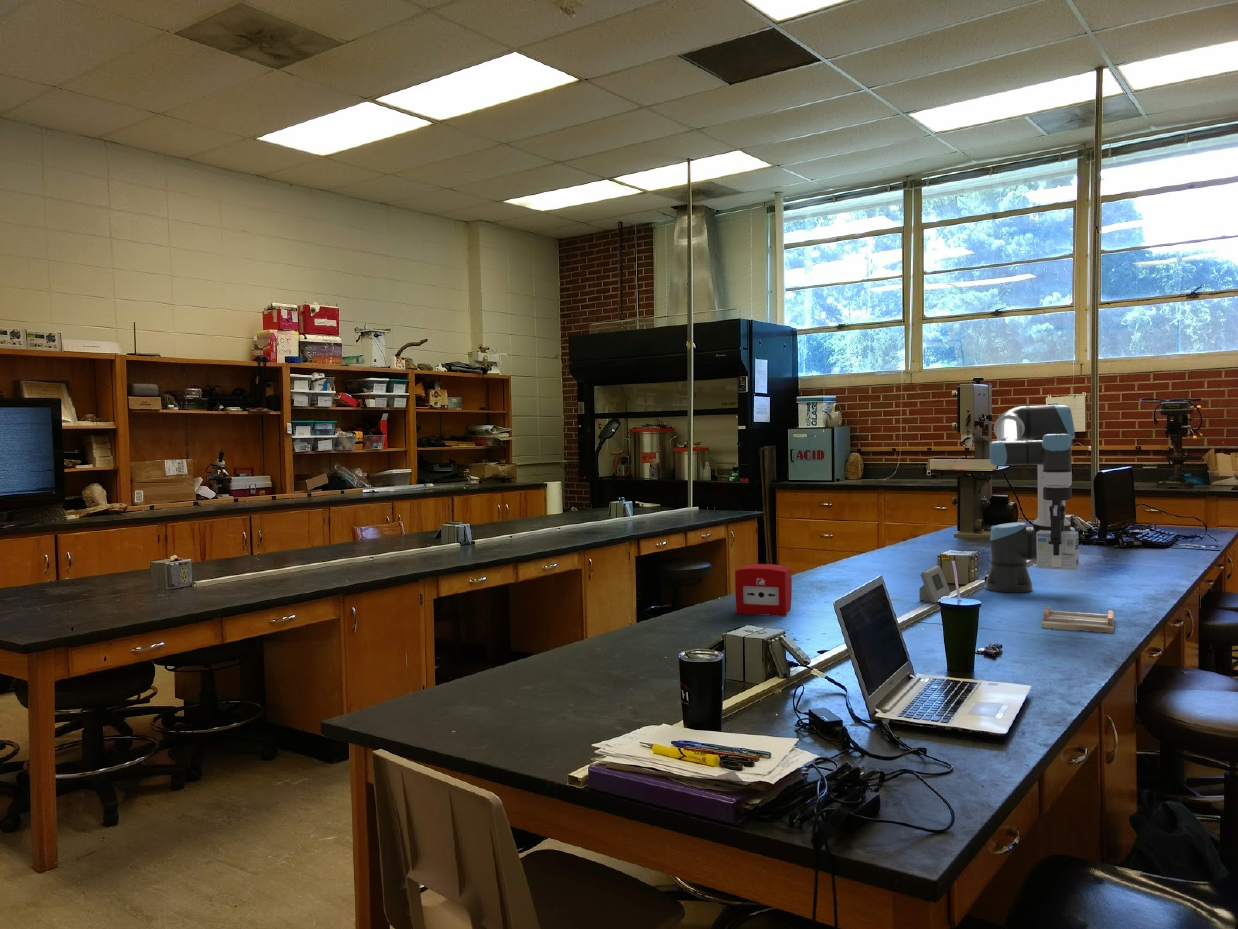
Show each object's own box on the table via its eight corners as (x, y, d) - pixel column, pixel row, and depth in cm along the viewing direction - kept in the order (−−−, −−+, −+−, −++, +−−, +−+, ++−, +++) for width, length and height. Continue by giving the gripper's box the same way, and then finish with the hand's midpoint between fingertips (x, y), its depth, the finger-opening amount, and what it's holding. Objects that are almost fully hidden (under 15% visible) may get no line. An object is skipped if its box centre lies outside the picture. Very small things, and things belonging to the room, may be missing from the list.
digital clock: (935, 605, 289) (935, 573, 288) (910, 601, 295) (909, 570, 295) (959, 597, 300) (958, 566, 299) (934, 594, 306) (933, 564, 306)
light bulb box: (1079, 567, 258) (1079, 531, 258) (1076, 571, 253) (1076, 533, 252) (1039, 565, 264) (1039, 529, 264) (1035, 568, 259) (1035, 532, 258)
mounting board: (1046, 615, 269) (1046, 610, 269) (1114, 620, 260) (1114, 615, 260) (1041, 627, 253) (1041, 622, 253) (1113, 633, 244) (1113, 628, 244)
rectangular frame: (1046, 612, 266) (1046, 606, 266) (1113, 617, 257) (1113, 610, 257) (1043, 620, 256) (1043, 613, 256) (1112, 625, 248) (1112, 618, 248)
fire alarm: (735, 614, 284) (734, 568, 284) (743, 607, 294) (742, 562, 294) (785, 616, 278) (784, 569, 277) (792, 610, 288) (791, 564, 287)
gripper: (1046, 484, 268) (1047, 559, 269) (1039, 488, 251) (1040, 568, 252) (1074, 484, 264) (1074, 560, 265) (1068, 489, 247) (1069, 570, 248)
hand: (1057, 564), depth 258 cm, fingers closed on light bulb box, 7 cm apart
